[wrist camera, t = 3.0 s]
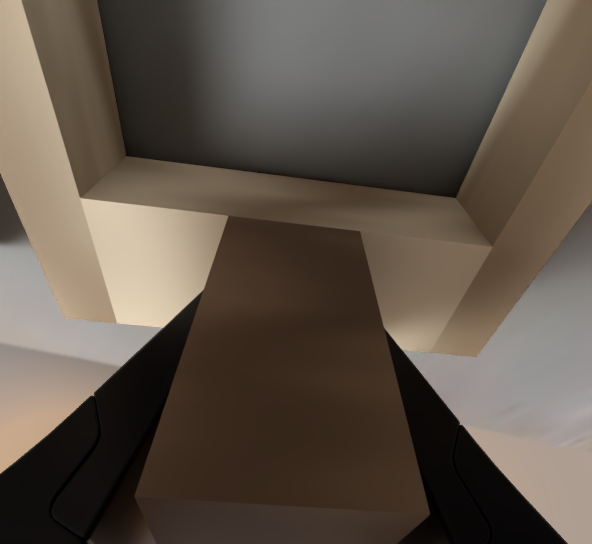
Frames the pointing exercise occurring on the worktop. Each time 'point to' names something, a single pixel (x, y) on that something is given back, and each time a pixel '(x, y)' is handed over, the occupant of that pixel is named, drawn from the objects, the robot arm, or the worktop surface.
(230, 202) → the ash sled frame
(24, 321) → the worktop surface
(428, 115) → the worktop surface
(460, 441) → the robot arm
